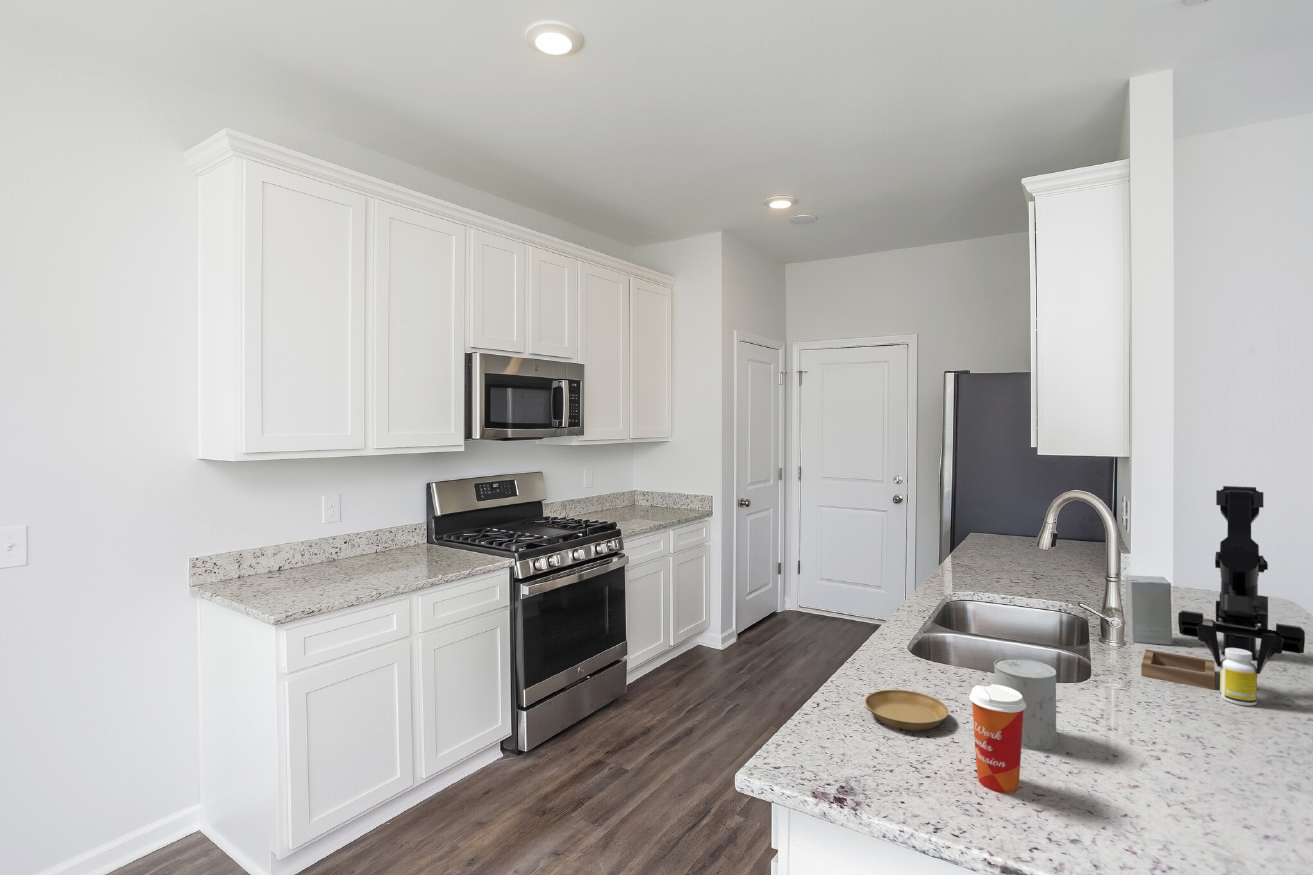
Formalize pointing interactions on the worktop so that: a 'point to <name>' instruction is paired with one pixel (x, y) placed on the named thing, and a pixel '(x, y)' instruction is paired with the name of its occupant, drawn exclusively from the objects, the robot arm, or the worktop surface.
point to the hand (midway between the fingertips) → (1238, 669)
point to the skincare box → (1149, 609)
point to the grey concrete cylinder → (1032, 698)
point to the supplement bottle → (1238, 677)
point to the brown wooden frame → (1178, 674)
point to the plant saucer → (906, 709)
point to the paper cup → (998, 736)
